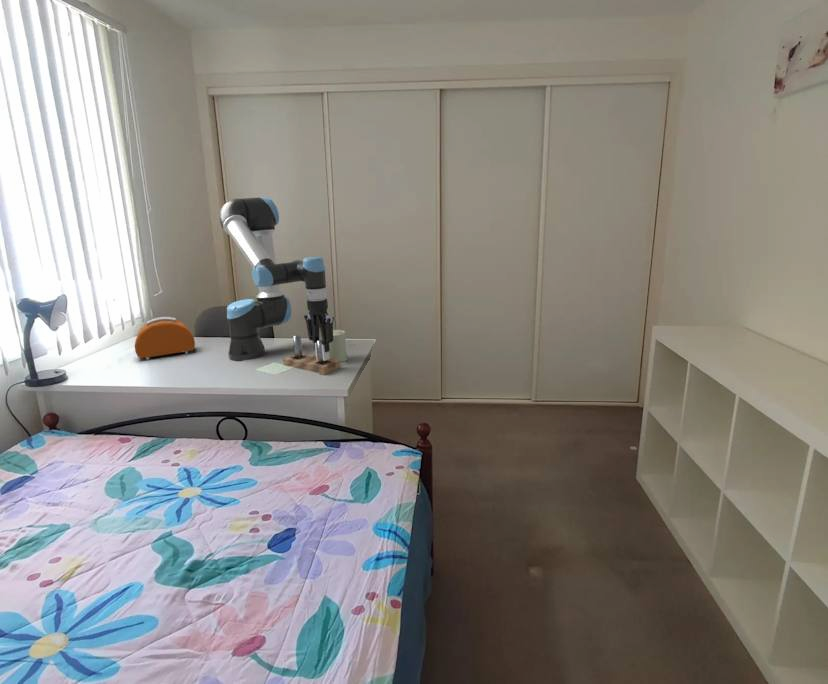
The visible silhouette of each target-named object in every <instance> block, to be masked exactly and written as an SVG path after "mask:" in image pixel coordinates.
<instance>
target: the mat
mask: <svg viewBox="0 0 828 684" xmlns="http://www.w3.org/2000/svg"><path fill="white" fill-rule="evenodd" d="M291 369H295V368H294V367H290V366H285V365H283V363H278V362H272V363H270V364H267V365H264V366H262V367H261V366H260V367H259V368H255V369H254V371H257V372H262V373H264V374H265V373H266V374H269V375H274V376H277V375H279V374H282V373H284V372H286V371H289V370H291Z"/></svg>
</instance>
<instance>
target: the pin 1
mask: <svg viewBox="0 0 828 684" xmlns="http://www.w3.org/2000/svg"><path fill="white" fill-rule="evenodd" d="M292 338H293V339H292V341H293V348H294V350H293V351H294V354H295V359H298V360H300V359H302V358H303V354H304V353H303V343H302V336H301V334H293V335H292Z"/></svg>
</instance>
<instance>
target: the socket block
mask: <svg viewBox="0 0 828 684" xmlns="http://www.w3.org/2000/svg"><path fill="white" fill-rule="evenodd" d="M282 364H283V365H285V366H290V367H294V368H293V369H298V370H304V371H309V372H313V373H318V374H319V375H323V376H324V375H327V374H330V373H332V372H334V371H337V370H339V369H341V362H340V361H339V360H334V359H328V360H327V363H326V364H324V365H322V364H319V359H316V355H313V354H308V353H303V358H302V359H300V360H298V359H295V353H294V354H291V355H289V356H286V357H284V358H282Z"/></svg>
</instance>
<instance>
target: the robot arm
mask: <svg viewBox="0 0 828 684" xmlns="http://www.w3.org/2000/svg"><path fill="white" fill-rule="evenodd" d="M218 217H219V224H220V226H221V228H222V231H224V233H225V234H226V235H229V236H230V237H231V238H232V240H233V241H234V243H235V244H236V246H237V247H238V249H239V250H240V251H241V254H243V256H244V258H245V259H246V260H247V262H248V263H249V265H250V266H251V268H252V271H251V278H252V279H253V283H254V284H255V286H257V287H258V291H259V293H258V294H257V295H256V301H255V300H254V299H252V298H246V299H241V300H237V301H234V302H231V303H230V304H229V305H227V307H226V318H227V323H228V330H229V336H230V341H229V342H230V343H229V347H228V352H227V353H228V359H230V360H231V361H238V362H239V361H240V362H241V361H249V360H252V359H253V360H254V359H257V358H261V357H263V356H264V355H266V347H265V345H264V343H263V341H262V339H261V337H260V332H259V331H260V329H265V328H269V327H274V326H280V325H283V324H286V323H288V322H289V321H290V319H291V317H292V303H291V301H290V300H289V298H288V297H287V296H285V292H283V291H281V288H280V285H283V284H290V283H291V284H292V283H297V282H304V286H305V295H306V299H307V301H306V306H307V310H308V311H309V312H308V314H306V315H305V314H304V316H303V317H304V320H305V324H306V328H307V335H308V339H309V340H308V341H312V343H313V348H314V351H315V356H316V359H319V358H318V348H317V340H318V339H320V335H321V339H322V340H323V343H322V354H323V361H325V360H328V359H329V351H330V349H329V343H330V342H333V330H334V321H335V317H333V316H330V315H329V313H328V309H329V302H328V299H327V297H328V292H327V291H328V290H327V282H326V267H325V263H324V259H323V257H321V256H308V257H304V258H303V259H302V260H301V259H299V260H298V259H296V260H291V261H290V262H283V263H282V262H281V263H277V260H276V254H275V246H274V239H273V233H274V232H275V231H276V228H275V227H276V226H277V225H278V224H279V222H280V221H279V220H280V215H279V210H278V207H277V205H276V203H274V201H273V199H270V198H269V197H248V198H247V197H246V198H245V197H244V198H232V199H230V200H228V201H226V202H225V203H224V204H223V206H222V207H221V209H220V212H219V216H218Z"/></svg>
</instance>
